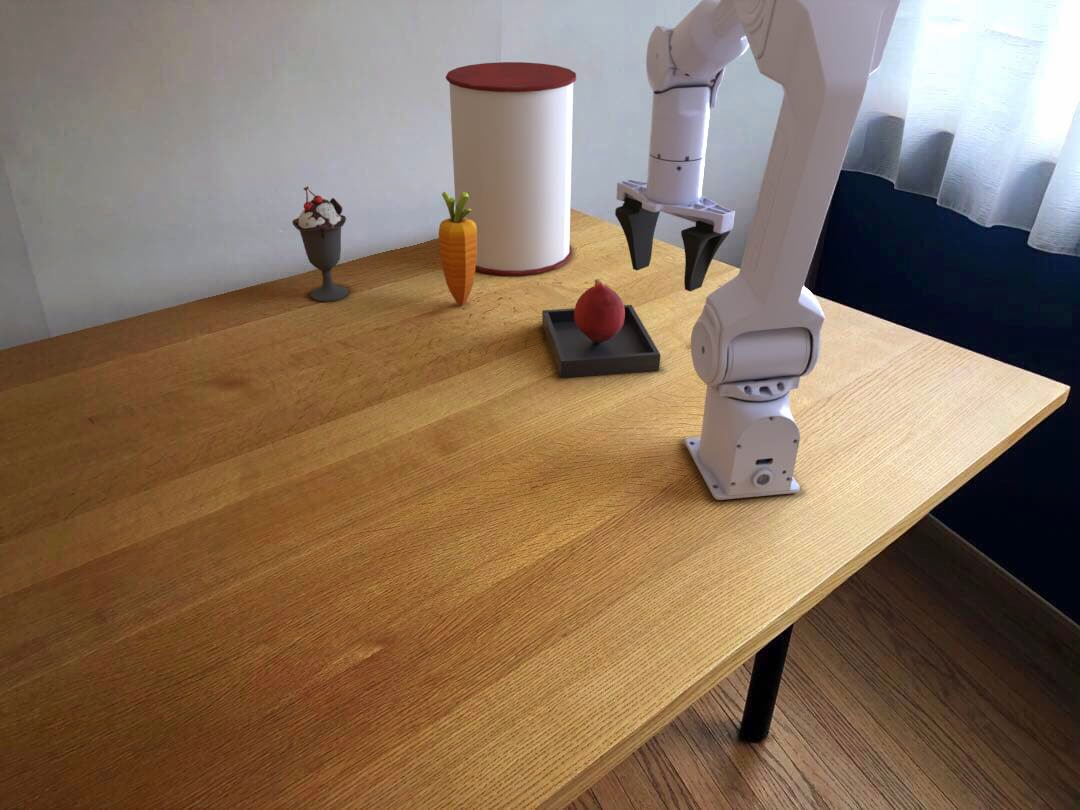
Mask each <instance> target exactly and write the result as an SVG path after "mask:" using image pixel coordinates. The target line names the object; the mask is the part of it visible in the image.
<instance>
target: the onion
mask: <svg viewBox="0 0 1080 810" xmlns="http://www.w3.org/2000/svg"><path fill="white" fill-rule="evenodd" d="M624 305H625V304H624V301H623V300H622V298H621V297H620V295H619V294H618V293H617V292H616V291H615V290H613V289H612V288H611V287H609V286H608V285H607V284H605V282H604V281H603V280H602V279H600V278H595V280H594V285H593V286H591V287H589V288H587V290H585V291H584V292H583V293H582V294H581V295H580V296H579V298H578V299H577V301H576V303H575V305H574V306H575V307H574V308H575V311H574V320H575V323H576V325H577V327H578V328H579V330H580V331H581V332H582V333H583V334H584V335H585V336H587V337H588V338H589V339H590V340H591V341H592V342H593V343H595V344H600V343H602V342H604V341H607V340H609V339H610V338H612V337H613V336H614V335H616V334H617V333H618V332H619V331H620V330H621V328H622V326H623V324H624V319H625V308H624Z"/></svg>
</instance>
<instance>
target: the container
mask: <svg viewBox="0 0 1080 810" xmlns="http://www.w3.org/2000/svg"><path fill="white" fill-rule="evenodd" d="M445 80H446V81H447V82H448V83H449V84H448V85H449V103H450V122H451V123H450V124H451V145H452V146H451V147H452V160H453V161H452V165H453V185H454V199H455V204H454V210H456V205H457V203H458V200H459V198H460V196H461V194H462V193H463V192H465V193H467V194H468V195H469V198H468V200H467V202H466V204H465V206H464V208H463V210H462V212H463V211H464V210H465V209H467V208H470V209H471V211H470V212H469V213H468V214H467V215H466V216H465V217H464V218H467V219H470V220H472V221H474V222H475V224H476V228H477V258H476V268H475V272H479V273H483V274H489V275H495V276H508V277H509V276H510V277H511V276H513V277H516V276H517V277H518V276H519V277H521V276H529V275H539V274H542V273H546V272H551V271H555V270H556V269H558V268H560V267H562V266H564V265H565V264H567V263H568V261H570V259H571V258H572V256H573V248H572V246H571V245H570V239H571V238H570V237H571V235H570V234H571V233H570V232H571V194H572V192H571V190H572V156H573V155H572V153H573V151H572V150H573V149H572V148H573V111H574V110H573V107H574V83H575V82H576V81H577V73H576V72H575V71H573V70H572V69H570V68H567V67H563V66H559V65H555V64H548V63H541V62H523V61H520V62H519V61H502V62H499V61H498V62H484V63H476V64H475V63H474V64H469V65H463V66H459V67H456V68H454V69H451V70H449V71H448V72H447V73H446V75H445Z"/></svg>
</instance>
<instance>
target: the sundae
mask: <svg viewBox="0 0 1080 810" xmlns="http://www.w3.org/2000/svg"><path fill="white" fill-rule="evenodd" d="M303 190H304V191H305V194H306V197H305V198H306V202H304V204H303V210H302V211H301V213H299V216H298V217H297V218H294V219H293V220H292V221H291V222H292V226H294V228H295V229H296V230H298V231H299V233H300V237H301V240H302V243H303V247H304V250H305V255H306V256H307V259H308V261H309V263H310V264H311V265H312V266H313V267H314V268H316V269H318V270H319V271H321V276H322V284H321V286H318V287H316V288H314V289H312V290H311V292H310V294H309V296H310V298H311V299H312V300H314V301H317V302H324V303H325V302H326V303H327V302H335V301H338V300H342V299H344V298H345V297H347V295H348V294H349V291H348V289H347V287H344V286H342V285H337V284H334V281H333V279H332V270H333V268H335V267H336V266H337V265H338V263H339V262H340V260H341V252H342V227H344V225H345V223H346V221H347V217H346V215H343V214H342V213H343V206H342V205H341V204H340V203H339V202H338V201H337V200H336V198H334V197H332V198H331V199H330V200H329V199H325V198H323V197H322V196H321V195H316V194H315V193H314V192H312V191H310V188H309V186H308V185H307V186H305V187H303ZM308 192H309V194H311V195H312V196H314V197H313V198H312V199H311V200H310V201H309V194H308Z"/></svg>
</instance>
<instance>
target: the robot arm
mask: <svg viewBox="0 0 1080 810" xmlns="http://www.w3.org/2000/svg"><path fill="white" fill-rule="evenodd" d="M901 2H902V0H701V1H700V2H699V3H698V4H697V5H696V6H695V7H693V9H691V11H689V13H688V14H687V15H685V16H684V18H683V19H682V20H680V22H678V24H676V26H675V27H667V26H665V25H656V26H655V27H654V28H653V30H652V32H651V34H650V36H649V39H648V42H647V48H646V56H645V65H646V67H645V68H646V77H647V81H648V84H649V87H650V89H651V90H652V103H651V121H650V135H649V136H650V137H649V149H648V150H649V151H648V164H647V177H646V182H644V181H638V180H634V179H631V178H628V179H625V180H622V181H618V182H617V183H616V185H617V186H616V200H617V201H620V202H622V206H618V207H616V208H615V211H614V216H615V218H616V219H617V221H618V222H619V225H620V226H621V229H622V231H623V233H624V236H625V240H626V242H627V247H628V251H629V257H630V261H631V266H632V270H634V271H640V270H642V269H646V268H648V267H649V266H650V265H651V264H650V263H651V260H652V254H653V243H654V235H655V231H656V226H657V223H658V219H659V217H660V213H661V212H662V213H665V214H667V215H671V216H674V217H677V218H680V219H683V220H686V221H689V222H692V223H695V226H694V225H693V226H690V227H687V228H685V229H682V230H681V231H680V235H681V239H682V243H683V249H684V258H685V259H684V260H685V264H684V265H685V266H684V278H683V279H684V280H683V281H684V282H683V284H684V290H685V291H686V292H687V291H688V292H693V291H695V290H699V289H700V288H702V286H703V283H704V282H705V281H704V280H705V278H706V275H707V274H708V273H707V272H708V270H709V268H710V265H711V263H712V261H713V259H714V257H715V255H716V254H717V253H718V250H719V248H720V247H721V246H722V245H723V243H724V241H725V240H726V239H727V237H728V236H729V235H730V233H731V231H732V230H733V229H734V222H735V214H736V211H735V210H732V209H729V208H726V207H724V206H722V205H720V204H719V203H717V202H715V201H713V200H711V199H710V198H708V197H707V196H705V195H703V194H702V192H703V191H702V190H703V180H704V172H705V164H706V163H705V162H706V152H707V143H708V142H707V141H708V132H709V124H710V123H709V122H710V113H711V110H712V109H715V107H716V104H717V99H718V90H719V88H720V86H721V84H722V82H723V79H724V75H725V71H726V67H728V66H729V65H730V64H732V63H733V62H734V61H736V60H737V59H738V58H740V57H741V56H742V55H743V54H745V52H746V51H747V50H748V48H749V49H750V51H751V53H752V55H753V58H754V61H755V63H756V67H757V69H758V72H759V74H761V75H763V76H765V77H766V78H768V79H769V80H772V81H774V82H775V83H777V84H779V85H781V87H782V91H783V97H782V102H781V107H780V110H779V114H778V116H777V117H778V118H777V121H776V126H775V130H774V133H773V138H772V141H771V145H770V149H769V153H768V156H767V161H766V165H765V169H764V172H763V177H762V180H761V184H760V189H759V192H758V197H757V200H756V204H755V208H754V212H753V216H752V220H751V225H750V228H749V231H748V236H747V239H746V244H745V248H744V252H743V256H742V259H741V264H740V267H739V271H738V274H737V275H736V276H734V277H733V278H732V279H730V280H729V281H727V282H725V283H724V284H723V285H721V286H720V287H718V288H716V289H715V290H713V291H712V292H711V293H709V294H708V295H707V297H706V299H705V303H704V306H703V309H702V310H701V311H702V312H701V313H700V315H699V317H698V318H697V320H696V322H695V323H694V324H693V326H692V331H691V336H690V353H691V360H692V365H693V367H694V371H695V372H696V375H697V376H698V377H699V379H700V380H701V381H702V382H703V383H704V384H705V385H706V391H705V399H704V406H703V407H704V408H703V416H702V424H701V432H700V436H696V437H695V436H694V437H687V438H685V439H684V445H685V447H686V448H687V451H688V452H689V454H690V456H691V458H692V460H693V462H694V464H695V465H696V467H697V469H698V471H699V473H700V475H701V476H702V479H703V480H704V482H705V485H706V486H707V488H708V490H709V492H710V493H711V495H712V497H713V499H715V500H717V501H723V500H735V499H747V498H755V497H766V496H778V495H785V494H797V493H799V492H800V489H801V487H800V485H799V483H798V482H797V480H796V479H795V478H794V471H795V466H796V461H797V456H798V452H799V451H798V450H799V446H800V440H801V433H800V432H801V431H800V428H799V427H798V424H797V422H796V420H795V419H794V417H793V413H792V410H791V407H790V395H791V391H792V390H796V389H799V386H800V381H801V378H802V377H806V376H809V375H810V374H812V372H813V371H814V369H815V367H816V365H817V363H818V361H819V358H820V354H821V348H822V347H821V345H822V341H821V335H822V328H823V324H824V321H825V315H824V312H823V310H822V306H821V305H820V303H819V301H818V300H817V298H816V296H815V295H814V294H813V293H812V292H811V290H809V289H808V288H807V287H805V284H806V283H805V282H806V279H807V277H808V273H809V270H810V266H811V263H812V260H813V258H814V254H815V251H816V248H817V245H818V241H819V238H820V235H821V232H822V229H823V227H824V224H825V221H826V216H827V213H828V210H829V207H830V204H831V201H832V198H833V195H834V191H835V188H836V185H837V183H838V180H839V176H840V173H841V170H842V167H843V164H844V160H845V157H846V154H847V151H848V148H849V145H850V142H851V138H852V136H853V133H854V130H855V126H856V123H857V119H858V117H859V113H860V110H861V107H862V104H863V101H864V99H865V98H864V97H865V94H866V92H867V91H866V90H867V87H868V83H869V78H870V76H871V75H872V74H874V72H876V71H877V70H878V69H879V68H880V66H881V65H882V61H883V59H884V55H885V51H886V48H887V45H888V43H889V39H890V37H891V33H892V30H893V27H894V24H895V21H896V18H897V15H898V12H899V9H900V6H901Z"/></svg>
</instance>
